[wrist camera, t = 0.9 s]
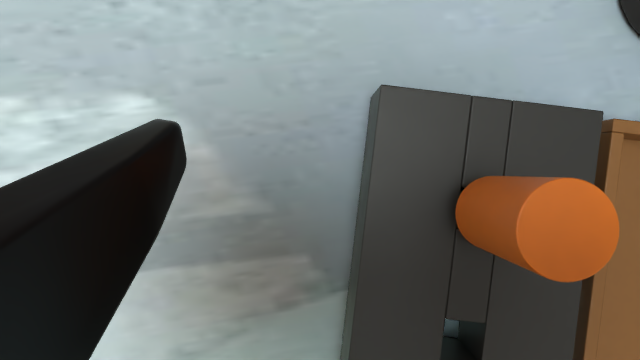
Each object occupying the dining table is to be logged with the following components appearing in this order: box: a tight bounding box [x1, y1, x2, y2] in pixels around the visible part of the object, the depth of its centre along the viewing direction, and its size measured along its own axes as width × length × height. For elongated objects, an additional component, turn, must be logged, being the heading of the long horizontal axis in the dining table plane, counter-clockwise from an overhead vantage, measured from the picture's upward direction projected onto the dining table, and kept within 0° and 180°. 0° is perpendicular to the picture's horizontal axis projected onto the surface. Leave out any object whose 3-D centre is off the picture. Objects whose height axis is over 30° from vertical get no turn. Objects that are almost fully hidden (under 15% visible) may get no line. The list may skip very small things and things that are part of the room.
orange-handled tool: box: [455, 176, 619, 282], centre depth 20 cm, size 3×3×11 cm
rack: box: [340, 85, 603, 360], centre depth 24 cm, size 10×21×4 cm, turn 173°
